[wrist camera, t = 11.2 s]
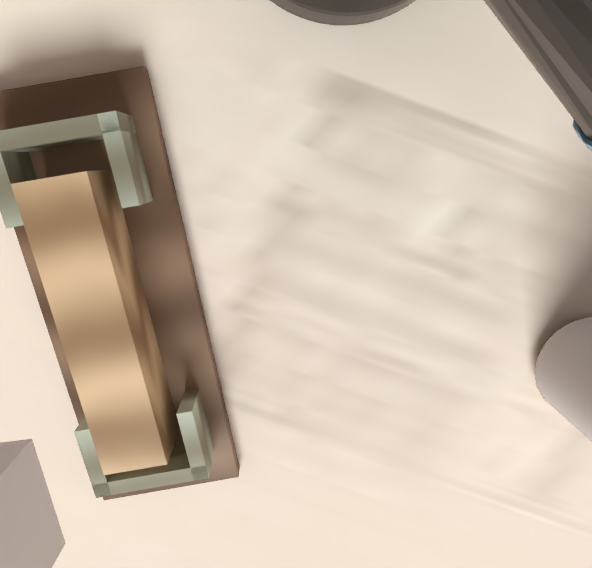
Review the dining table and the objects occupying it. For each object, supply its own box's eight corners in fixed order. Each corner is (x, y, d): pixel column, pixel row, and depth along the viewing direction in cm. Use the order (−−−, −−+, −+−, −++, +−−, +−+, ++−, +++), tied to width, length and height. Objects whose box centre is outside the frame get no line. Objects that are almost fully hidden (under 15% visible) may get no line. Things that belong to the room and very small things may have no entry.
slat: (46, 180, 28) (10, 183, 24) (112, 169, 28) (86, 171, 24) (123, 437, 33) (103, 475, 29) (179, 428, 33) (167, 464, 29)
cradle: (-19, 98, 28) (-66, 88, 24) (147, 69, 28) (126, 55, 24) (108, 490, 35) (88, 531, 31) (239, 467, 35) (235, 506, 31)
